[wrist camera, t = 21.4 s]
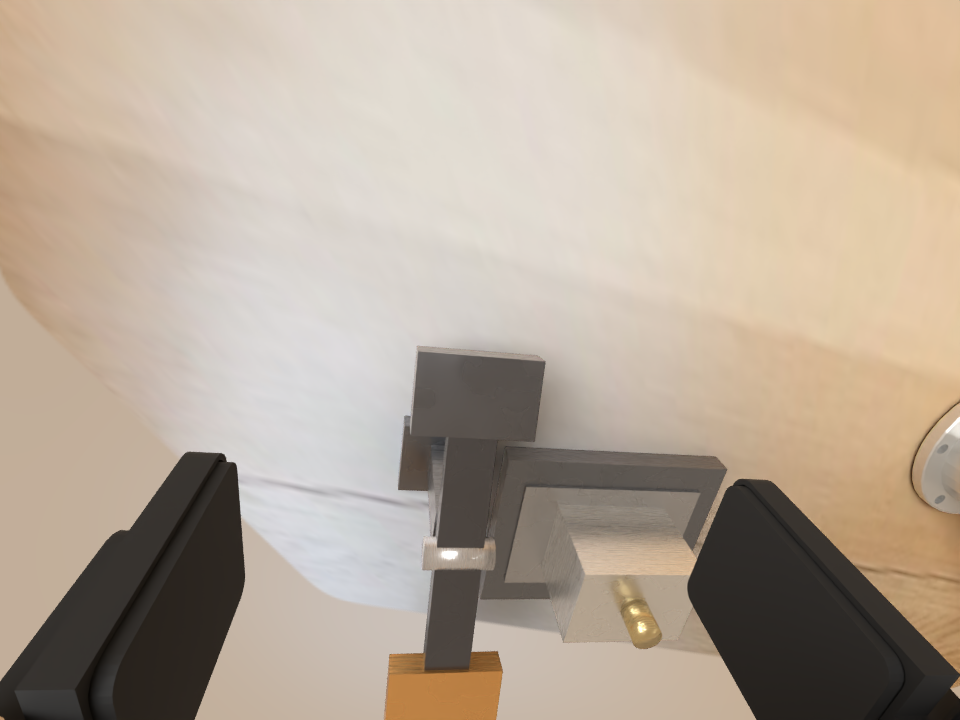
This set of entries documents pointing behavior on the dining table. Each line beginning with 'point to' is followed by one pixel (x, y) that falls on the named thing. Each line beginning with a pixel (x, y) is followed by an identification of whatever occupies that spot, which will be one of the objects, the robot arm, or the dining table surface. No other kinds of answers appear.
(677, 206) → the dining table surface
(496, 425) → the press lever
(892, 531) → the dining table surface
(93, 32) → the dining table surface
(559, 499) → the press bed
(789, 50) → the dining table surface
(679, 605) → the block
